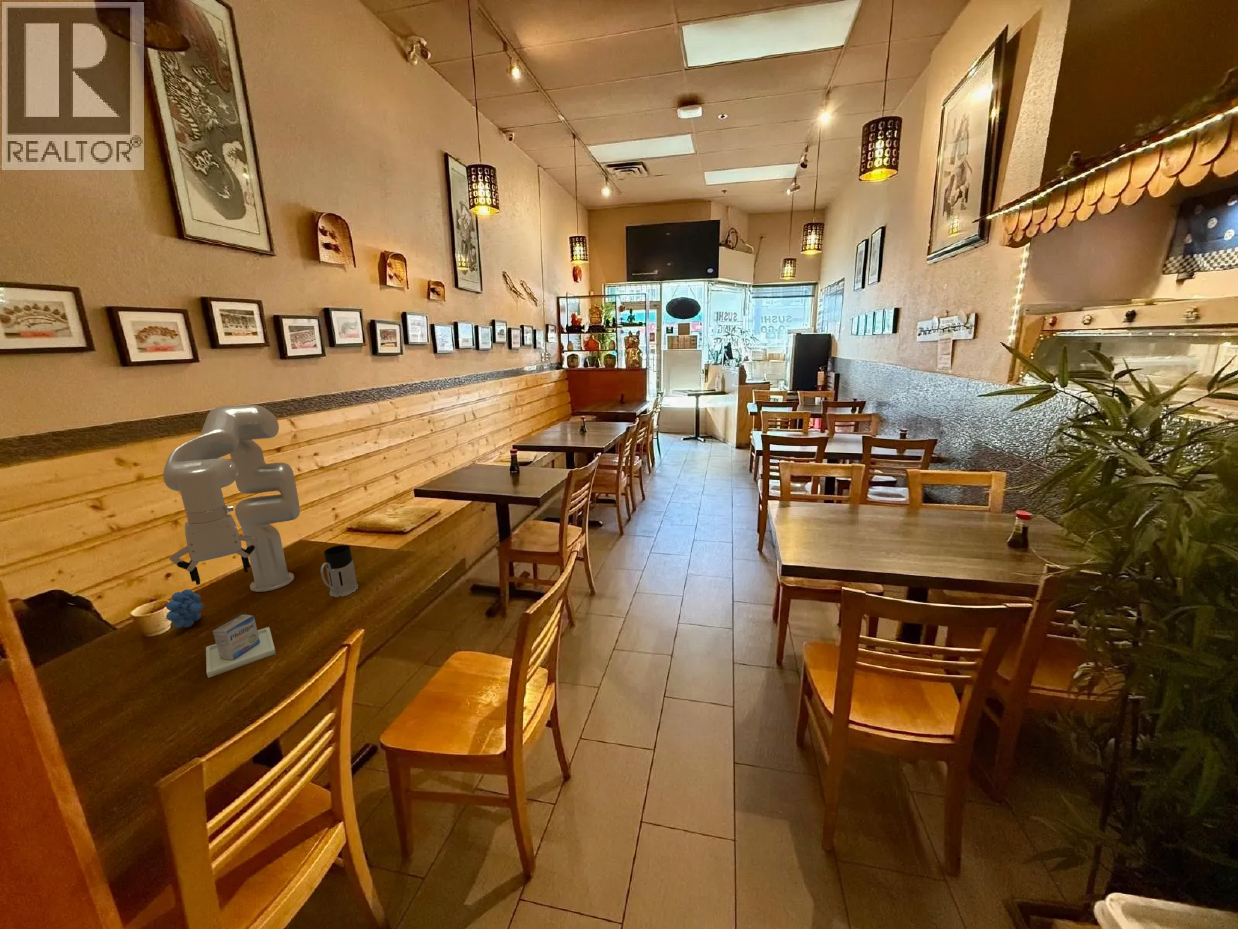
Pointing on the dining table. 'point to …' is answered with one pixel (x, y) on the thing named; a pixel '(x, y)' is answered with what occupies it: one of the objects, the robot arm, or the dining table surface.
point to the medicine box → (236, 637)
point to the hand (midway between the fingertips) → (222, 576)
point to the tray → (252, 655)
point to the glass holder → (339, 571)
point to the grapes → (184, 608)
